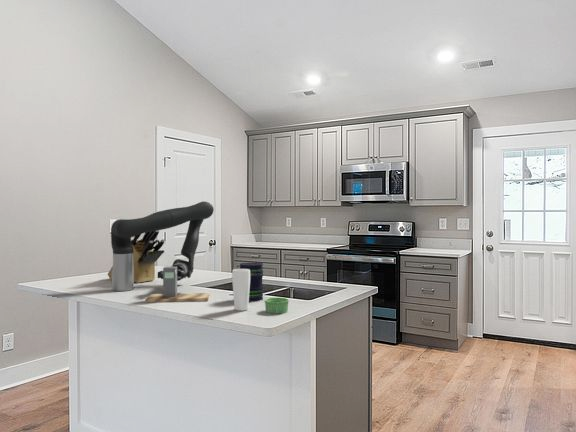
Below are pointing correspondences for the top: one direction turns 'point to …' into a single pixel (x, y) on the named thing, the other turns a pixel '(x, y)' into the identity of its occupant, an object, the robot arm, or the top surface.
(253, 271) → the storage jar
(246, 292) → the drinking glass
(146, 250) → the knife block
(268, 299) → the ramekin
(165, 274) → the tall grey rectangular prism
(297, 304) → the top surface
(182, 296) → the board
